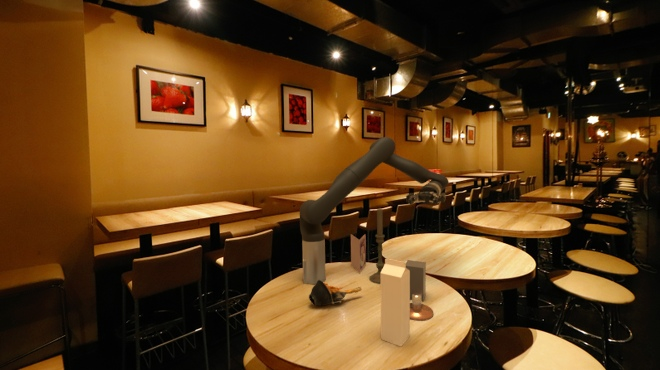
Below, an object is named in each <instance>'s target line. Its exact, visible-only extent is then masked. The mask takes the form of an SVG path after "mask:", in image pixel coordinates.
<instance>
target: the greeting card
mask: <svg viewBox="0 0 660 370" xmlns="http://www.w3.org/2000/svg"><path fill="white" fill-rule="evenodd" d="M366 242H367V240H366V234H364V235H362V236H361V237H360V239H359V238H357V237H356V236H354V235H353V234H351V233H350V263H351V264H350V265H351V267H352V268H354V269H355V270H356V272H357V273H359V274H361V272H363V270H364V268H365V267H366V265H367V260H366V259H367V253H366V252H367V251H366V250H367V249H366V247H367V245H366V244H367V243H366Z"/></svg>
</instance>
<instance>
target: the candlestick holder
mask: <svg viewBox="0 0 660 370" xmlns="http://www.w3.org/2000/svg"><path fill="white" fill-rule="evenodd" d="M383 215H384V214H383V209H382V208H377V209H376V224H377V225H376V227H377V228H376V230H377V231H376V234H375V236H374V237H375V238H376V239H375V242H376V243H377V244H378V245H377V251H378V252H377V253H378V254H377V255H378V256H377V257H378V260H377V262H376V264H375V267H376V268H377V272H374V273H373V274H371V275H370V276H369V277H368V278H369V281H370V282H372V283H374V284H377V285H378V284H380V285H381V275H380V273H381V271H382V269H383V267H384V265H385V262H383V243H384V242H385V239H384V238H385V234H383V232H384V231H383V230H384V228H383V227H384V226H383V225H384V224H383V221H384V220H383Z"/></svg>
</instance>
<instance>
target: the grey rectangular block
mask: <svg viewBox="0 0 660 370" xmlns="http://www.w3.org/2000/svg"><path fill="white" fill-rule="evenodd" d="M405 263H406V268H407V269H408V270H410V300H412V294H413V293H419V294H421V303H423V302H424V301H425V298H426V292H427V291H426V287H427V286H426V279H427V278H426V277H427V276H426V275H427V274H426V271H427V270H426V268H427V263H426V261H419V260H409V259H407V261H405Z"/></svg>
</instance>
